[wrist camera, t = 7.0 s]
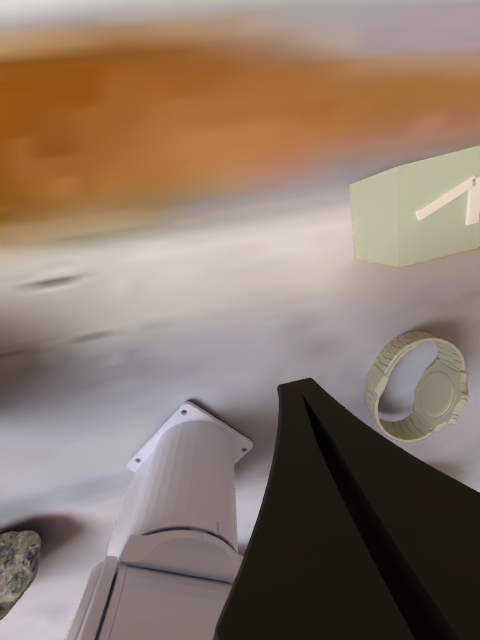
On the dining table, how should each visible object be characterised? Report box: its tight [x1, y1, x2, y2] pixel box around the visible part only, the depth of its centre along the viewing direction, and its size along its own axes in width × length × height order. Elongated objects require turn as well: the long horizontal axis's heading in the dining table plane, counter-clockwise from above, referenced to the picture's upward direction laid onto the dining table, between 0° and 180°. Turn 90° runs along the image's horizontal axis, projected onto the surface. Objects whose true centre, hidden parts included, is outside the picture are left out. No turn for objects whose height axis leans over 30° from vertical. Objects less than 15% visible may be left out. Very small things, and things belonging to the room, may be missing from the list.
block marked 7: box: [349, 145, 480, 268], centre depth 15 cm, size 5×5×5 cm
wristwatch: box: [365, 331, 468, 442], centre depth 20 cm, size 9×6×5 cm
